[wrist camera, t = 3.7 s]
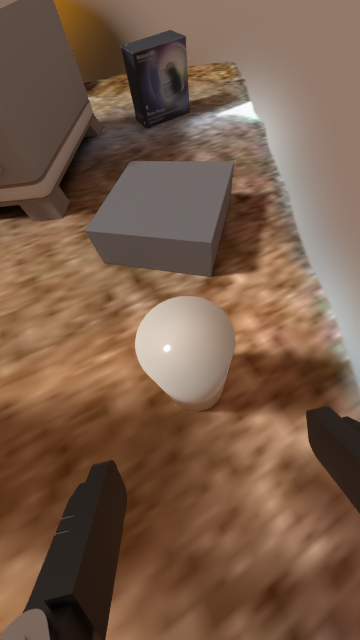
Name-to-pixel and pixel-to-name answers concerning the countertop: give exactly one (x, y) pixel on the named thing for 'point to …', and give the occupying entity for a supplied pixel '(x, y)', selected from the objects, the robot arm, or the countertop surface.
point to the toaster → (38, 108)
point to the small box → (158, 77)
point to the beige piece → (187, 350)
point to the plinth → (164, 216)
